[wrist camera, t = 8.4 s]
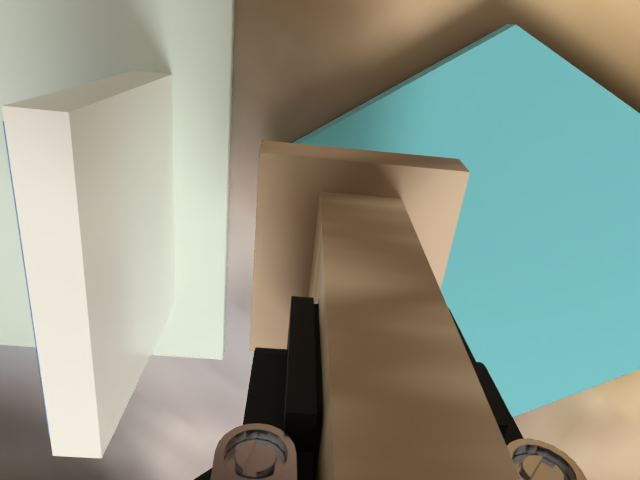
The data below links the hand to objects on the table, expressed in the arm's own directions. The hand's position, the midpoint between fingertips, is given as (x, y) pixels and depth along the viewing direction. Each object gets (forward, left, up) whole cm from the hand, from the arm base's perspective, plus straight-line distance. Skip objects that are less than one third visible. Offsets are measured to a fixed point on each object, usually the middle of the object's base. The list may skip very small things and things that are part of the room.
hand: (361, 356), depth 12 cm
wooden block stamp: (0, 0, -5) cm, 5 cm away
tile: (+8, 0, -10) cm, 13 cm away
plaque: (-6, +2, -11) cm, 13 cm away
